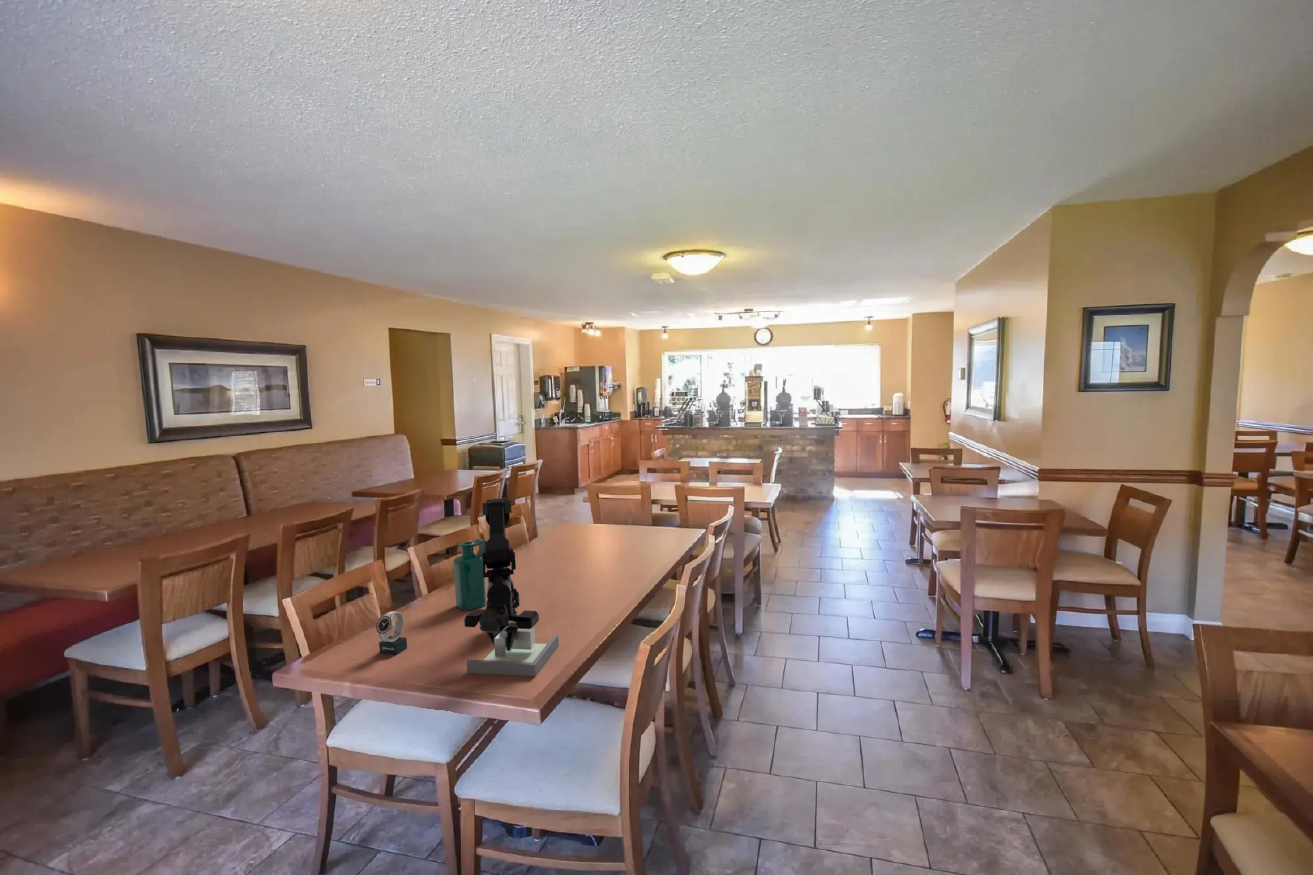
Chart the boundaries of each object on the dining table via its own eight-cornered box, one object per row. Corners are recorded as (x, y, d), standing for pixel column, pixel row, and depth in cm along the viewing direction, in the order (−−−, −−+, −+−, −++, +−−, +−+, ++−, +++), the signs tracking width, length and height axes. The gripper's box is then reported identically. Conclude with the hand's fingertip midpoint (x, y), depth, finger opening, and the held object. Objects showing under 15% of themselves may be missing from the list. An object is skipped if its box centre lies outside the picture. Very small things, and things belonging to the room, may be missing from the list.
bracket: (507, 643, 156) (506, 626, 156) (535, 644, 155) (534, 627, 155) (495, 656, 148) (493, 638, 148) (523, 658, 147) (522, 639, 147)
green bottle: (463, 612, 186) (459, 546, 184) (454, 605, 193) (450, 542, 191) (492, 604, 192) (488, 541, 190) (482, 598, 199) (478, 536, 197)
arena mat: (474, 670, 145) (474, 669, 145) (501, 643, 161) (501, 642, 161) (533, 673, 143) (533, 672, 143) (554, 645, 158) (554, 644, 158)
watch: (374, 656, 156) (371, 617, 155) (395, 643, 164) (392, 606, 163) (391, 658, 154) (388, 619, 153) (411, 645, 162) (408, 608, 161)
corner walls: (466, 673, 144) (466, 661, 144) (496, 643, 161) (496, 633, 161) (535, 676, 141) (535, 664, 141) (558, 645, 158) (558, 635, 158)
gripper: (451, 603, 142) (455, 662, 144) (521, 605, 139) (524, 665, 141) (472, 588, 153) (476, 643, 155) (538, 589, 150) (541, 646, 152)
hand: (503, 649), depth 150 cm, fingers closed on bracket, 3 cm apart
